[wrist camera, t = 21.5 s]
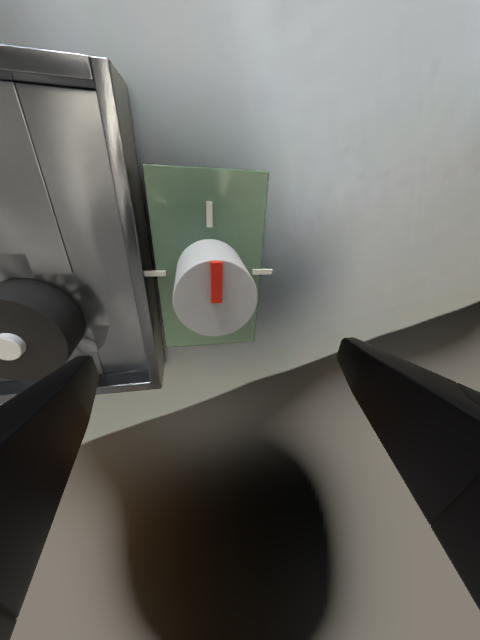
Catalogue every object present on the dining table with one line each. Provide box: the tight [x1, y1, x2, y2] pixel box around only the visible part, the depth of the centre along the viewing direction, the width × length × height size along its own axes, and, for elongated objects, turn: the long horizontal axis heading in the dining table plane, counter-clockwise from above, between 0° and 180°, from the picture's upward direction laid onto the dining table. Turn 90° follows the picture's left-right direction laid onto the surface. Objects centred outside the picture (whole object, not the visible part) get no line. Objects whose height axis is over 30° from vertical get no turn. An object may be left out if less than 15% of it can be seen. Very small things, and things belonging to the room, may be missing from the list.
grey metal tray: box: [0, 44, 165, 403], centre depth 16 cm, size 16×20×4 cm
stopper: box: [0, 278, 86, 381], centre depth 16 cm, size 6×6×5 cm
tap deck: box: [142, 164, 272, 347], centre depth 18 cm, size 9×12×3 cm
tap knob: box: [173, 239, 258, 336], centre depth 14 cm, size 4×4×5 cm
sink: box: [0, 80, 148, 382], centre depth 16 cm, size 14×18×2 cm
